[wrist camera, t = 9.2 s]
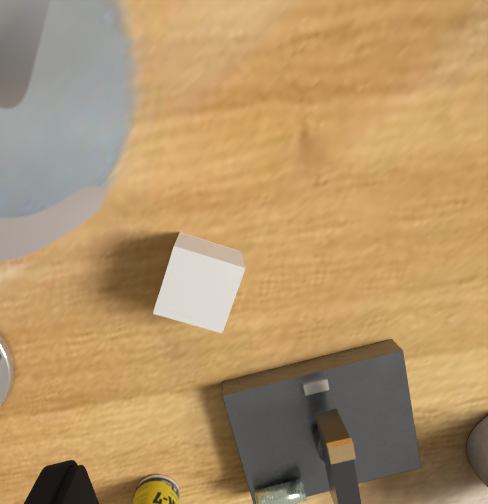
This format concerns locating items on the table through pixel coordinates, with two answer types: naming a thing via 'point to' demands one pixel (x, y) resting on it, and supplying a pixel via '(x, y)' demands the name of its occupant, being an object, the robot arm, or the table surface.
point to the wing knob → (337, 457)
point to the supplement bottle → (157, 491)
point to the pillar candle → (479, 450)
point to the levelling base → (304, 420)
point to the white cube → (200, 283)
